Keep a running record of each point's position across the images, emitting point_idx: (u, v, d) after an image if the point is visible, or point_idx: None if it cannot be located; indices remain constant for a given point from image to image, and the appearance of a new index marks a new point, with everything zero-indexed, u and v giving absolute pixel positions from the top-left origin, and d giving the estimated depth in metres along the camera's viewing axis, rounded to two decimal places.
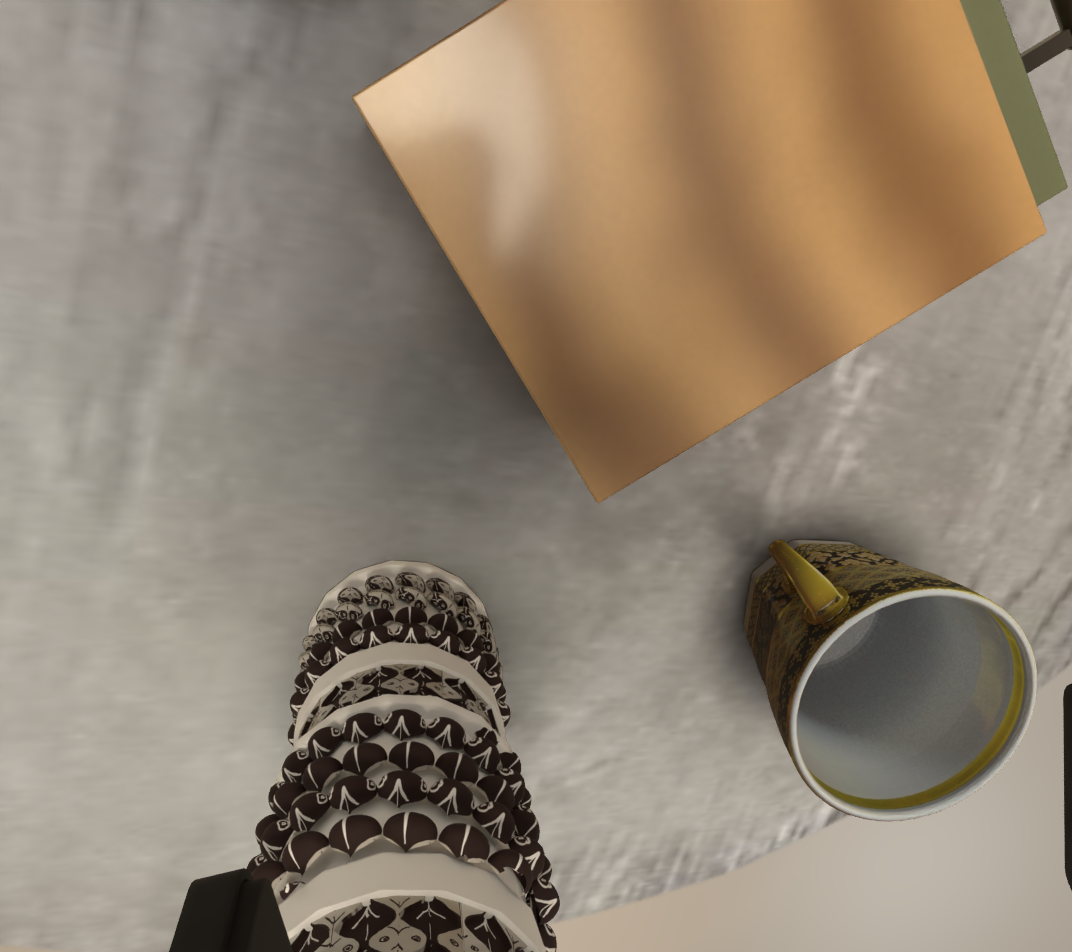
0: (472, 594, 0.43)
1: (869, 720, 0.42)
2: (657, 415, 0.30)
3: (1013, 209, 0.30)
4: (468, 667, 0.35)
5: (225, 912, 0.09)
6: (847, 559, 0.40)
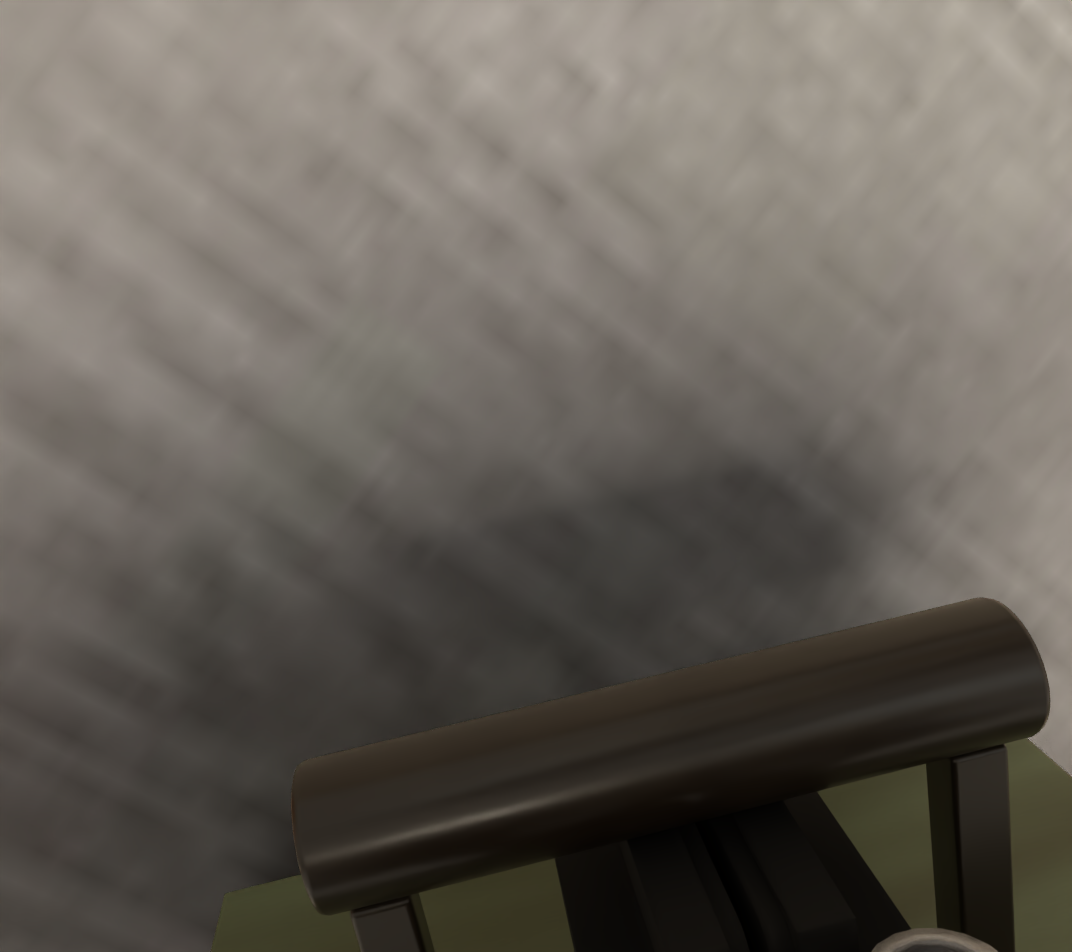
0: None
1: None
2: None
3: None
4: None
5: None
6: None
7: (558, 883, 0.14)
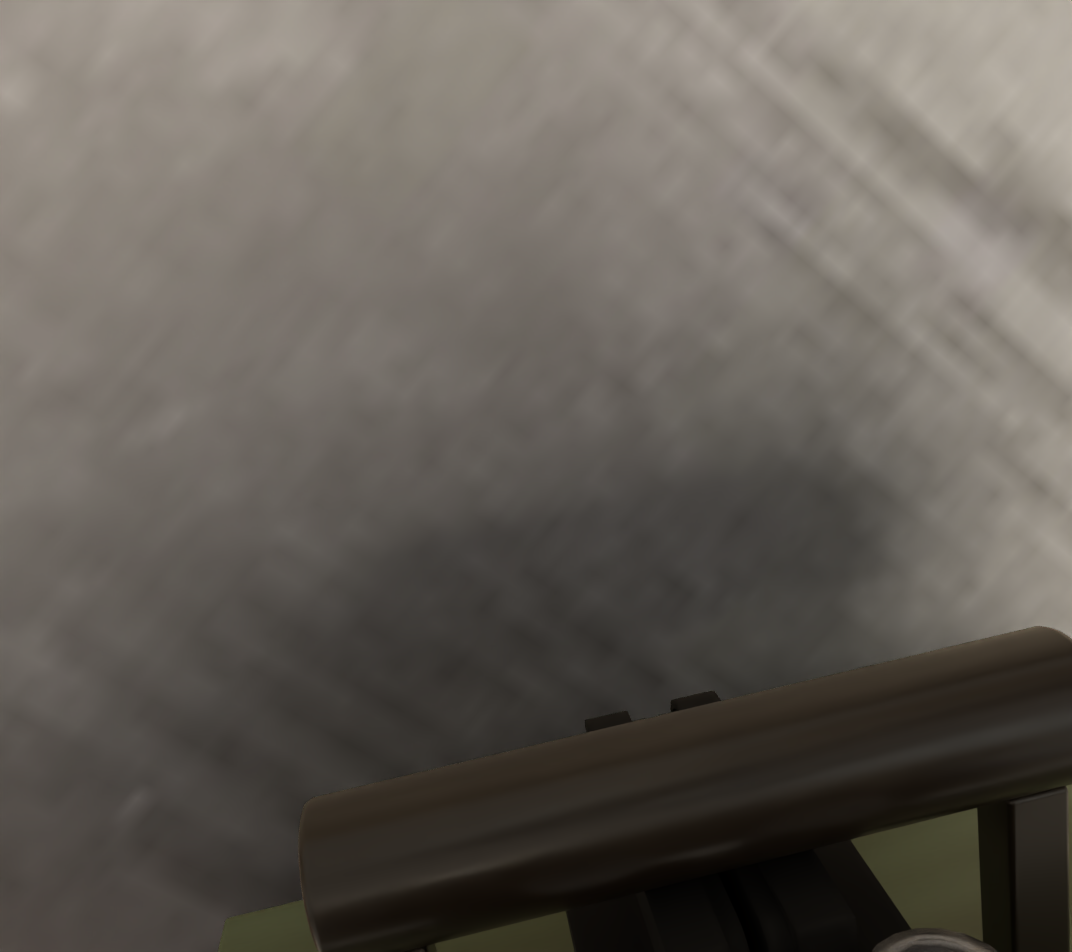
0: None
1: None
2: None
3: None
4: None
5: None
6: None
7: None
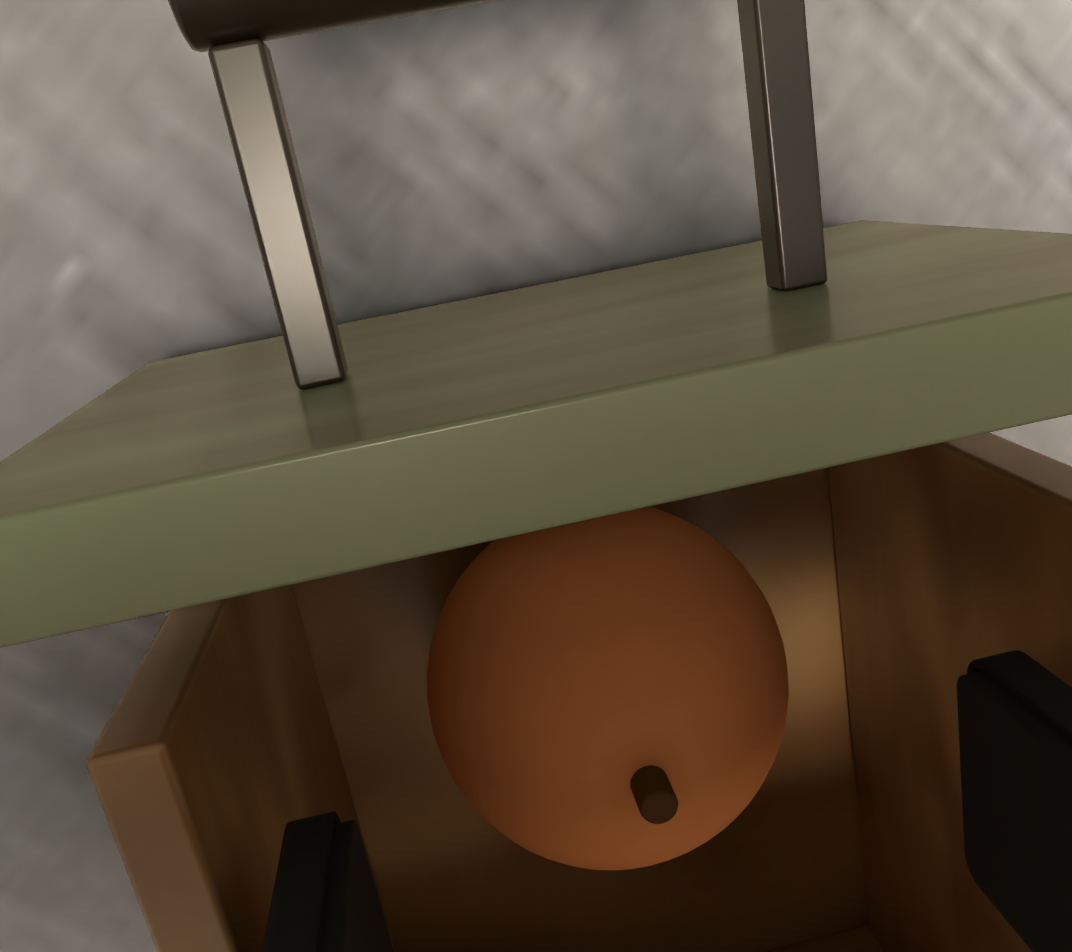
0: None
1: None
2: None
3: None
4: None
5: (323, 848, 0.10)
6: None
7: (448, 315, 0.15)
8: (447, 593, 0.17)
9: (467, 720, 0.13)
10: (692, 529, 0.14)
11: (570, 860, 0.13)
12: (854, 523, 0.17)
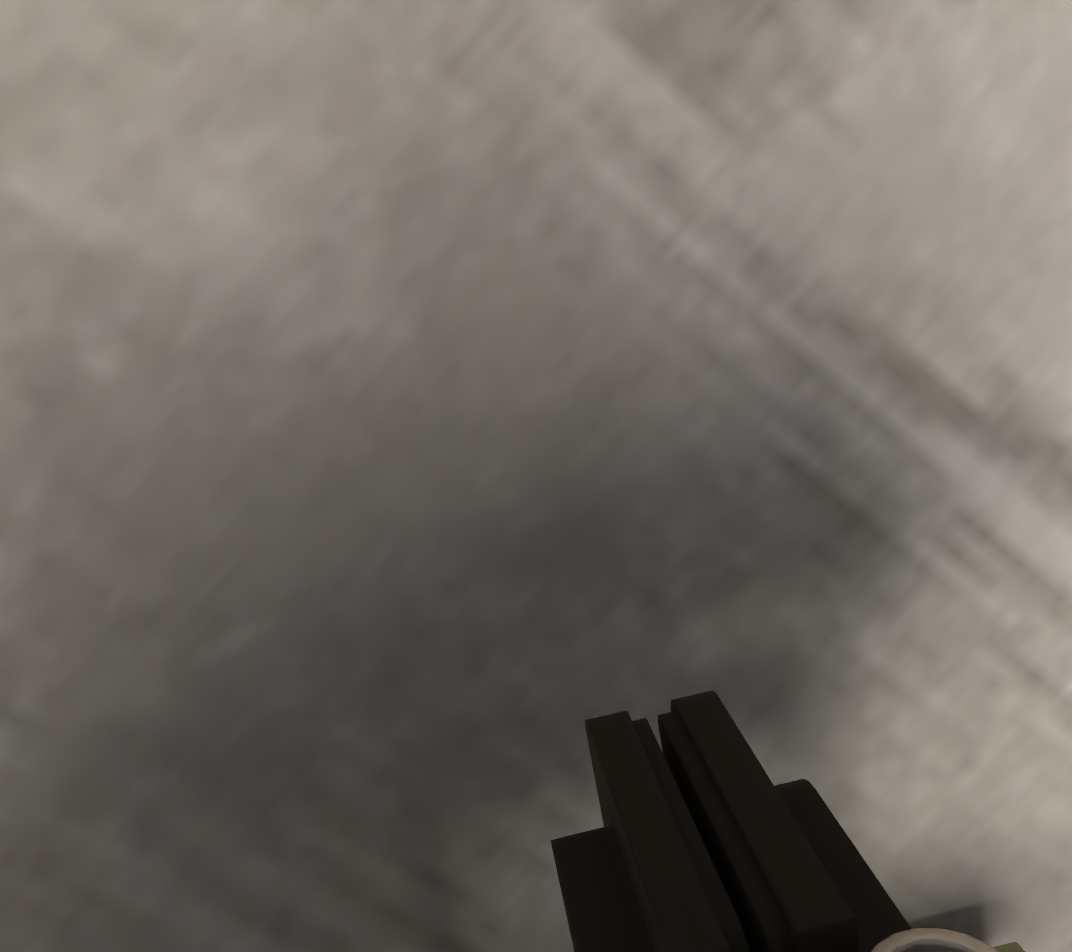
0: None
1: None
2: None
3: None
4: None
5: (634, 738, 0.11)
6: None
7: None
8: None
9: None
10: None
11: None
12: None
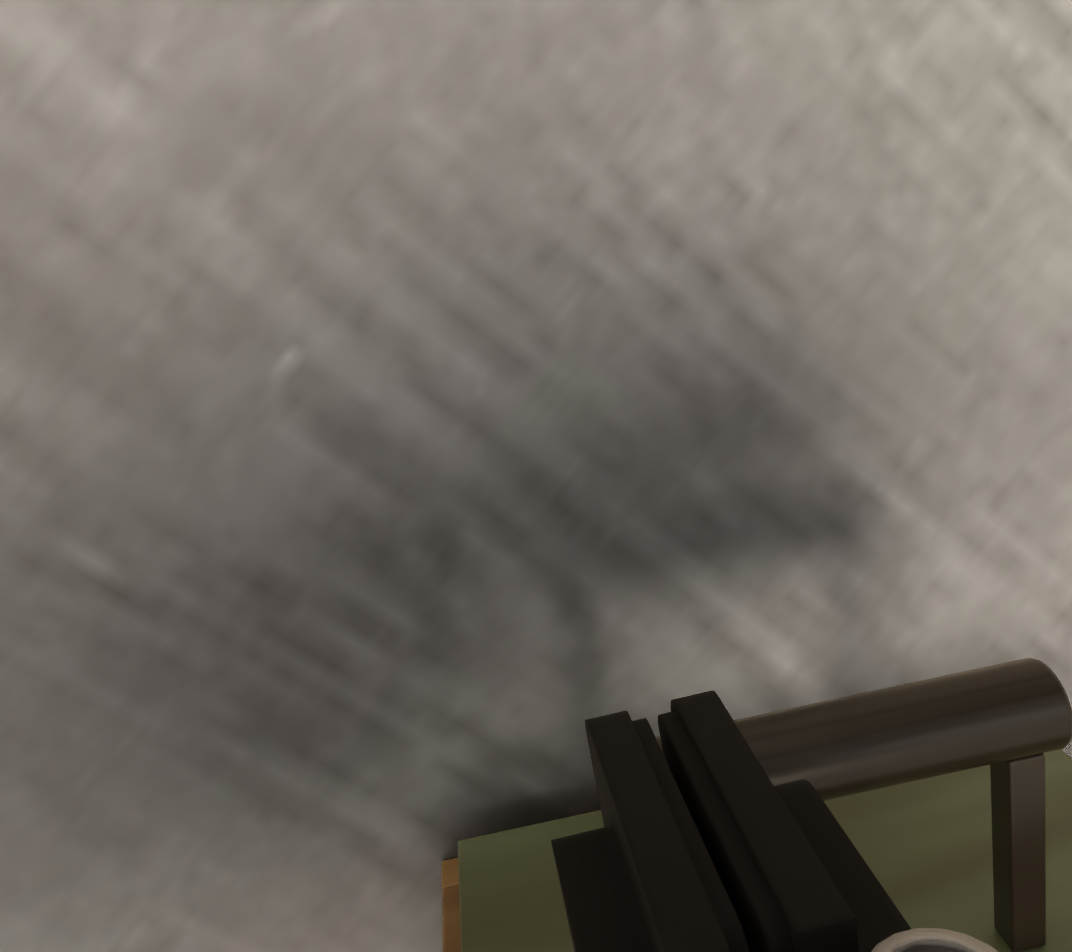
0: None
1: None
2: None
3: None
4: None
5: (634, 738, 0.11)
6: None
7: None
8: None
9: None
10: None
11: None
12: None
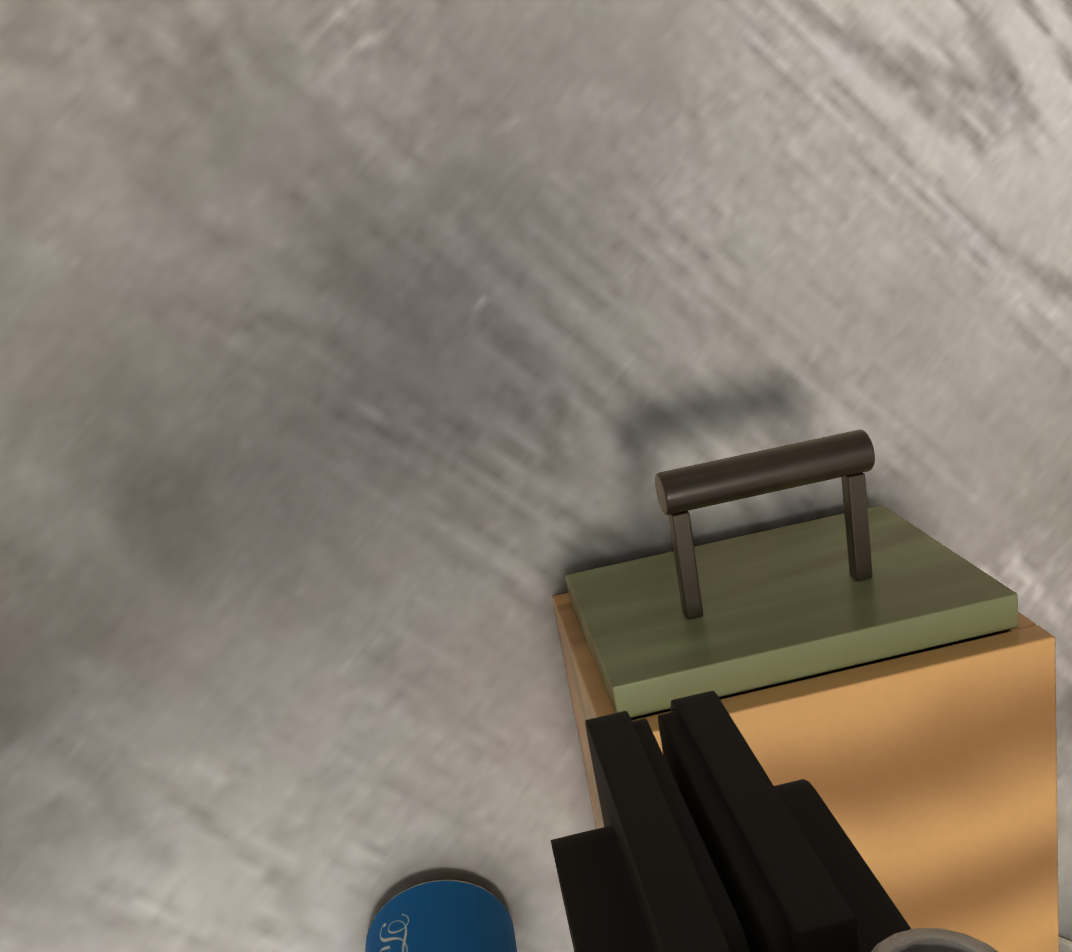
0: None
1: None
2: None
3: (1017, 667, 0.29)
4: None
5: (634, 738, 0.11)
6: None
7: (707, 562, 0.36)
8: None
9: None
10: None
11: None
12: None
